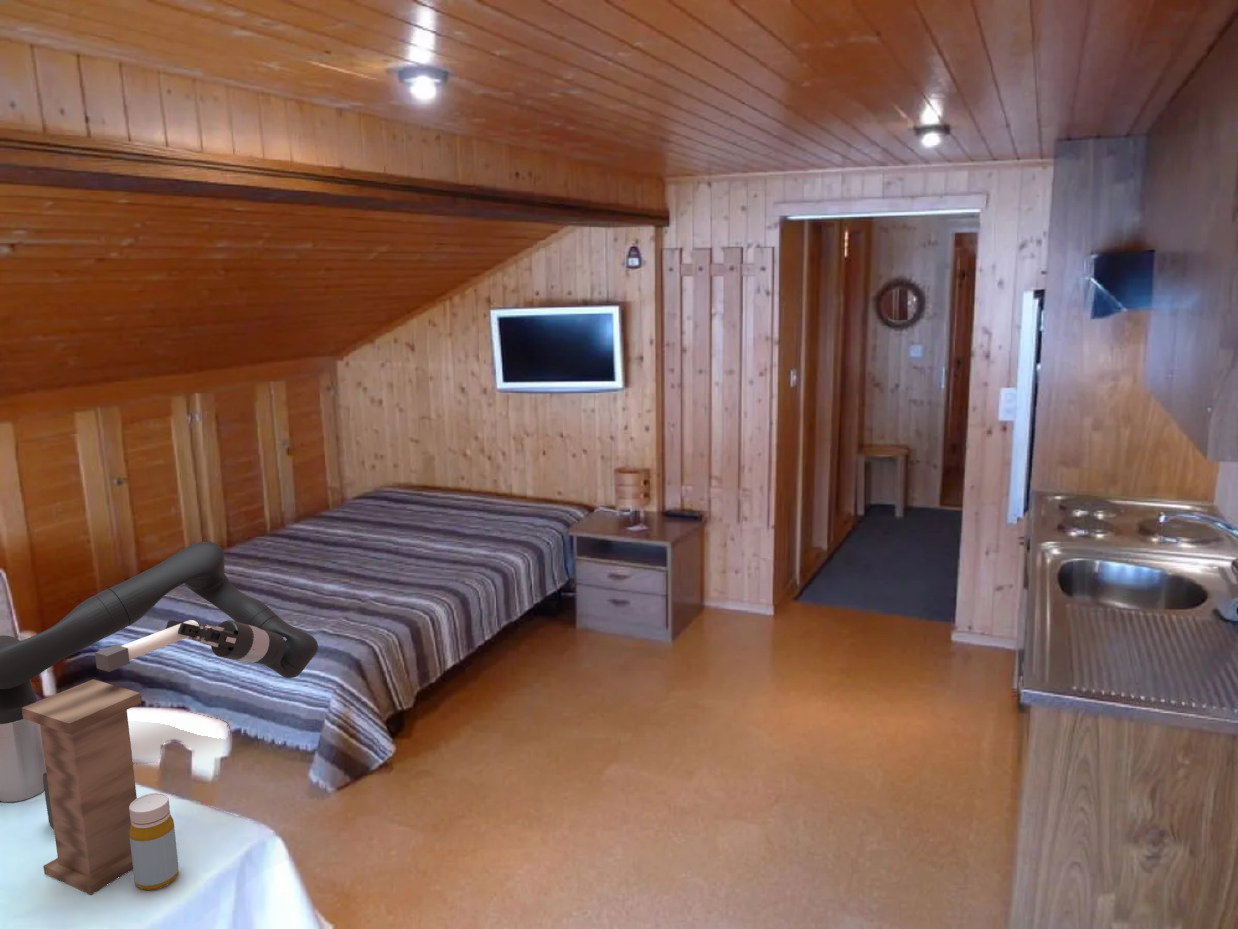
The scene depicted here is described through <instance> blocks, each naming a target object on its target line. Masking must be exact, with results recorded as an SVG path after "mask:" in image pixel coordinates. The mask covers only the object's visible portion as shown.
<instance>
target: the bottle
mask: <svg viewBox="0 0 1238 929" xmlns="http://www.w3.org/2000/svg"><path fill="white" fill-rule="evenodd" d="M129 811H130V819H131V827H130V830H129V834H130V835H129V836H130V845H131V854H132V862H133V869H132V871H133V878H134V883H135V885H136V887H138V888H140V889H142V890H144V891H154V889H155V890H158V889H162V888H164V887H167V886H168V885H169V884H171V883H172V882H173V881H174V880H175V879H176V878H177V876H178V875H179V871H180V870H179V860H178V859H179V857H178V849H177V840H176V838H177V837H176V830H175V822H174V818H173V817H172V815H171V810H170V800H169V796H168V795H167V794H165V793H162V792H152V793H148V794H144V795H141V796H139V797H137V799H135V800H134V801H133V802H132V803H131V804H130V807H129Z"/></svg>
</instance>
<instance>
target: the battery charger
mask: <svg viewBox="0 0 1238 929" xmlns="http://www.w3.org/2000/svg"><path fill="white" fill-rule="evenodd" d="M43 785H44V791H43V792H44V798H45V805H46V811H47V812H46V813H47V818H48V824H49V825H50V826H51V828H52V829H53V830H54V826H53V819H52V811H51V804H50V796H49V789H48V781H47V774H46V773H44V774H43Z"/></svg>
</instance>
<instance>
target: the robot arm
mask: <svg viewBox="0 0 1238 929" xmlns="http://www.w3.org/2000/svg"><path fill="white" fill-rule="evenodd" d="M225 570H226V568H225V554H224V551H223V548H222V547H221V546H220V545H219V544H218V543H216V542H211V541H199V542H196V543H195V542H194V543H193V544H190V545H189V546H187V547H185V548H183V549H180V550H179V551H178V552H176V553H174V554H173V555H171V556H170V557H168V558H167V559H165V560H163V561H161V562H160V563H158V564H156V565H154V566H152V567H151V568H149V569H146V570H144V571H143V572H140V573H138V574H136V575H135V576H133V577H131V578H129V579H127V580H125V581H123V582H120V583H118V584H116V585H113V586H111V587H109V588H107V589H105V590H103V591H100V592H99V593H97V594H94V595H93V596H91V597H89V598H87V599H85V600H84V601H82V602H81V603H79V604H78V605H76V607H74V609H72V610H71V611H70V612H69V613H68V614H66V616H64V617H63V618H62V619H60V620H59V621H58V622H57V623H55V624H54V625H53V626H51V627H49V628H48V629H46V630H44V631H41V632H39V633H37V634H35V635H33V636H30V637H28V638H26V639H23V640H20V639H19V638H17V637H14V636H11V635H0V802H4V803H12V802H13V803H14V802H20V801H24V800H28V799H31V798H34V797H36V796H37V795H39V794H41V793H42V792H44V785H43V774H44V773H46V766H45V759H44V751H43V744H42V736H41V729H40V724H37V723H34V722H32V721H29V720H26V719H23V714H22V708H23V707H25V706H28V705H30V704H33V703H35V702H38V697H37V695H36V692H35V690H34V688H33V685H32V682H31V680H32V679H34V678H36V677H37V676H39V675H40V674H41V673H43V672H45V671H46V670H48V669H49V668H51V667H52V666H54V665H56V664H57V663H59V662H61V661H62V660H64V659H66V658H68V657H70V656H73V654H75V653H77V652H80V651H81V650H84V649H86V648H88V647H90V646H91V645H94V644H96V643H97V642H100V641H101V640H103V639H105V638H106V639H107V637H109V636H111V635H114V634H116V633H117V632H120V631H121V630H123V629H125V628H128V627H130V626H131V625H133V624H134V623H136V622H138V621H139V620H140V619H142V618H143V617H144V616H145V615H146V614H147V613H148V612H149V611H151V610H152V609H153V608H154V606H155V605H157V604H158V603H159V602H160V601H161V600H162V599H163V597H165V596H166V595H167V594H168V593H170V592H171V591H173V590H174V589H176V588H178V587H180V586H181V585H184V586H186V587H187V588H188V589H189V590H190V591H192V592H193V593H195V594H196V595H197V596H200V597H201V598H203V599H204V600H206V601H207V602H209V603H210V604H211V605H213V606H214V607H216V609H218V610H220V611H221V612H223V613H225V615H226V616H228V617H229V618H230V619H232V620H224V621H222V622H220V624H218V625H217V626H216V625H213V624H208V623H206V624H203V623H200V622H197V623H198V624H199V626H195V625H191V624H186V623H183V622H184V620H183V621H178V620H173V619H169V620H168V621H167V623H166V626H165V629H167V628H170V627H173V626H175V625H178V624H181V625H180V627H179V630H178V633H179V634H181V635H186V636H190V637H187V638H188V640H191V641H195V642H199V643H200V644H203V645H207V646H210V648H211V650H212V652H213V654H214V655H216V656H217V657H220V658H224V659H227V660H228V659H229V660H233V661H239V662H244V663H254V664H259V665H264V666H266V667H267V668H269V669H271V670H273V671H274V672H276V673H277V674H278V675H279V676H281V677H282V678H285V679H293V678H297V677H298V676H299V675H301V674H302V672H303V671H304V670H305V669H306V668H307V665H308V664H309V663H310V662H311V661H312V660H313V658H314V657H315V655H316V654H317V652H318V651H319V643H318V641H317V639H316V638H315V637H314V636H313V635H311V634H309V633H308V632H305V631H303V630H301V629H298V628H297V627H294V626H293V625H291V624H289V623H288V622H286V621H284V619H282V618H281V617H280V616H278V615H277V614H276V613H275V612H274V610H272V608H270V607H269V606H268V605H267V604H265V603H264V602H262V601H261V600H259V599H256V598H255V597H252V596H249V595H247V594H245V593H243V592H241V591H240V590H239V589H238V588H236V587H235V586H234V585H233V583H232V582H231V581H230V580H229V578H228V577H227V575H226V574H225ZM198 628H199V629H198ZM285 639H286V640H285Z"/></svg>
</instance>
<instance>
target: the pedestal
mask: <svg viewBox="0 0 1238 929" xmlns="http://www.w3.org/2000/svg"><path fill="white" fill-rule="evenodd" d="M140 704H142V699H141V692H139V691H135V690H132V689H128V688H125V687H120V686H117V685H115V684H110V683H107V682H104V681H101V680H97V679H94V678H93V679H91V680H88V681H85V682H83V683H80V684H78V685H75V686H73V687H70V688H69V689H66V690H62V691H60V692H57V693H55V694H53V695H50V696H48V697H46V698H43V699H41V700H37V702H35V703H33V704H30V705H28V706H25V707H23V708H22V714H23V719H26V720H29V721H32V722H34V723H37V724H40V729H41V736H42V744H43V751H44V759H45V766H46V774H47V781H48V789H49V796H50V804H51V811H52V819H53V826H54V829H53V833H54V839H55V840H54V841H55V848H56V856H57V858H54V859H53V860H51V861H49V862H47V863H46V864H44V865H43V871H44V872H43V873H44V875H46V876H48V877H51V878H53V879H54V880H58V881H60V882H61V883H63V884H66V885H68V886H70V887H72V888H75V889H77V890H79V891H82V892H83V893H86V894H88V895H90V896H92V895H93V894H95V893H96V892H98V891H100V890H101V889H102V888H105V887H107V886H108V885H109V883H110V884H111V883H113V882H114V881H116V880H117V878H118V877H119V878H120V877H123V876H124V875H126V874H128V873H129V872H131V871H133V862H132V854H131V845H130V836H129V835H130V834H129V830H130V827H131V819H130V811H129V807H130V804H131V803H132V802H133V801H134V800H135V799H137V798H138V797H137V788H136V779H135V770H134V763H133V762H134V761H133V753H132V746H131V745H132V744H131V735H130V726H129V718H128V710H129V709H131V708H134V707H136V706H138V705H140ZM128 871H129V872H128ZM125 873H126V874H125ZM122 875H123V876H122ZM119 878H118V879H119ZM107 884H108V885H107Z"/></svg>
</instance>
